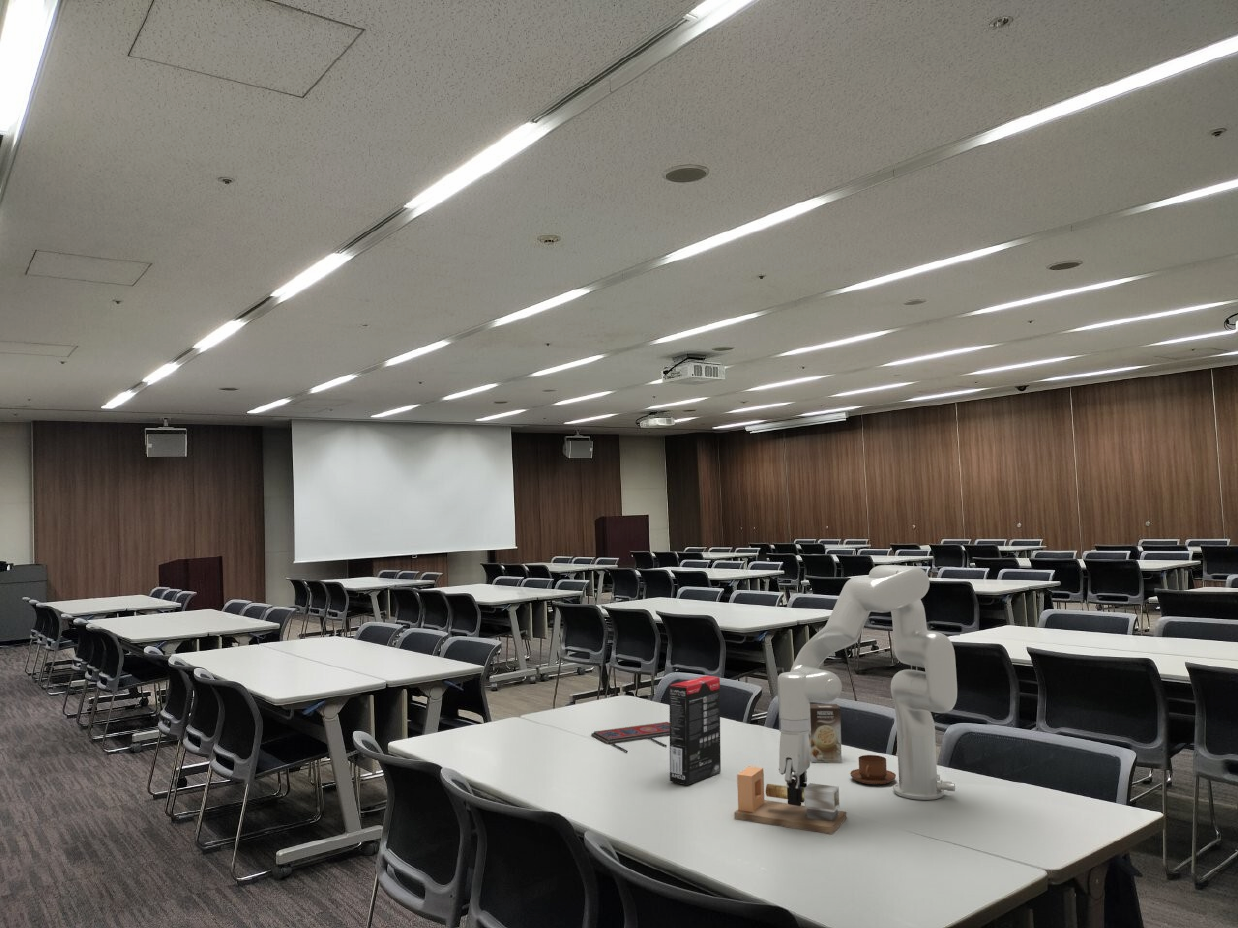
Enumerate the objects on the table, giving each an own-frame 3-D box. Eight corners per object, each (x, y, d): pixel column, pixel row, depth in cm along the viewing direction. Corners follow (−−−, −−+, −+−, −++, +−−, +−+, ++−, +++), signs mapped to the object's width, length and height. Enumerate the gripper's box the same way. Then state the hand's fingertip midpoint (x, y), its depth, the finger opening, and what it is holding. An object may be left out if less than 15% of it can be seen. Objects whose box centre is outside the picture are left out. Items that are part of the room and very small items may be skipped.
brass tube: (836, 804, 206) (836, 789, 206) (832, 808, 203) (831, 793, 203) (770, 795, 214) (770, 780, 214) (765, 799, 211) (765, 784, 211)
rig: (846, 817, 209) (845, 782, 209) (832, 833, 198) (830, 796, 199) (752, 804, 221) (751, 770, 221) (734, 818, 210) (733, 783, 211)
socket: (764, 802, 217) (763, 767, 218) (752, 812, 210) (751, 776, 211) (750, 800, 219) (749, 766, 220) (738, 809, 212) (737, 774, 213)
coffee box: (811, 762, 257) (808, 707, 258) (808, 756, 264) (806, 703, 265) (842, 762, 256) (840, 707, 257) (839, 757, 263) (837, 703, 264)
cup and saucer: (898, 788, 231) (897, 764, 232) (852, 786, 234) (851, 763, 234) (893, 775, 243) (892, 753, 243) (849, 774, 245) (848, 751, 246)
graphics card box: (703, 768, 254) (700, 674, 256) (723, 772, 249) (720, 676, 251) (669, 783, 240) (666, 683, 242) (689, 787, 236) (686, 685, 238)
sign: (706, 736, 286) (623, 748, 273) (706, 743, 285) (624, 755, 273) (668, 721, 310) (590, 731, 297) (668, 726, 309) (590, 737, 297)
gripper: (791, 716, 219) (793, 790, 218) (767, 730, 205) (770, 810, 203) (820, 718, 215) (823, 794, 214) (798, 733, 201) (801, 814, 200)
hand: (797, 801), depth 209 cm, fingers open, 3 cm apart
